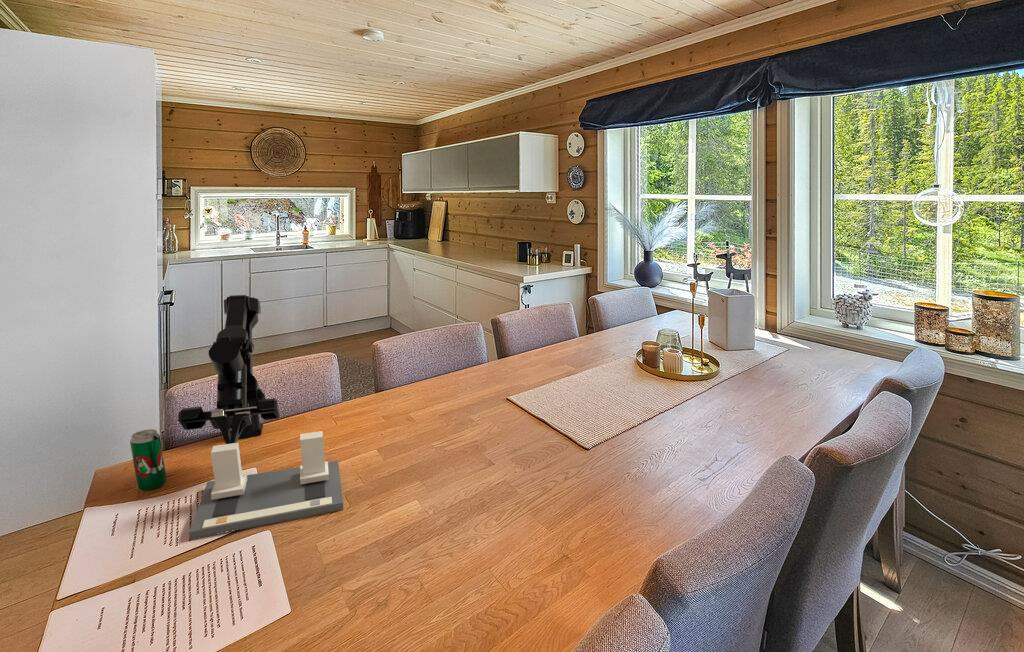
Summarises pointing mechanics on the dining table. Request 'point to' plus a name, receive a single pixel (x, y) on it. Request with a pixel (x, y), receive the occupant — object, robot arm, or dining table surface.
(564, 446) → the dining table surface
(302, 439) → the tab
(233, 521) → the switch board
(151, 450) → the soda can
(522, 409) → the dining table surface
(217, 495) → the tab front
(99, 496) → the dining table surface
